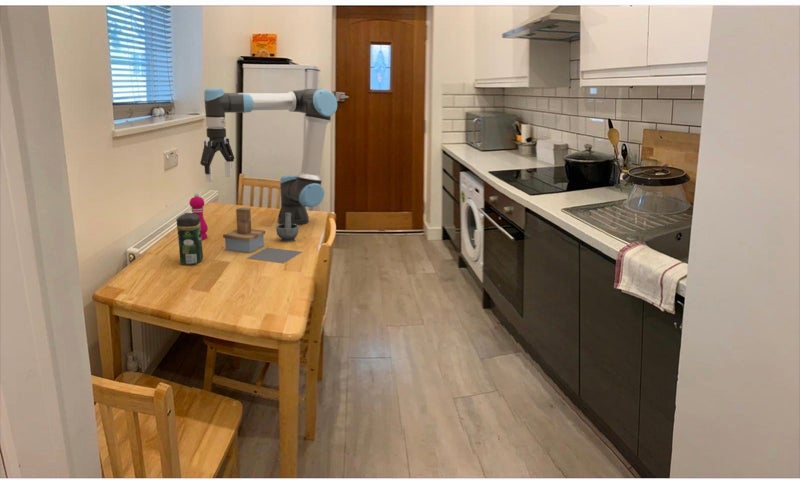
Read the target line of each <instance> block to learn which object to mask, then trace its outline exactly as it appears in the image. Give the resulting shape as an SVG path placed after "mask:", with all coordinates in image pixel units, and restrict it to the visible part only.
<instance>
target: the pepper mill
mask: <svg viewBox="0 0 800 480" xmlns="http://www.w3.org/2000/svg"><path fill="white" fill-rule="evenodd" d="M189 206H190V207H191V208H190V209H191V213H196V214H197V215H199V217H200V227H201V240H202V241H203V240H207V239H208V229H209V228H208V227H209V226H208V225H207V222H206V220H205V218H204V217H205V216H204V211H205V210H204V209H205V208H204V206H205V199H203V197H201V196H200V195H199V193H197V192H196V193H194V195H193V197H191V198H190V200H189Z"/></svg>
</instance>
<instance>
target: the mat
mask: <svg viewBox="0 0 800 480" xmlns="http://www.w3.org/2000/svg"><path fill="white" fill-rule="evenodd" d="M302 253H303V251H299V250H290V249H284V248H283V249H282V248H277V247H266V248H264V249H261V250H260V251H258V252H256V253H254V254H252V255H250V256H248V257H246V260H247V259H248V260H255V261H260V262H261V261H263V262H270V263H276V264H277V263H278V264H285V263H287V262H288V261H290V260H291V259H293V258H295V257H297V256H298V255H300V254H302Z"/></svg>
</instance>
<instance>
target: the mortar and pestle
mask: <svg viewBox="0 0 800 480" xmlns="http://www.w3.org/2000/svg"><path fill="white" fill-rule="evenodd" d="M299 230H300V225H296V224H291V213H285V224H280V223H279V224H278V225H276V229H275V231H276V235H277V236H278V238H280V241H281V242H285V243H286V242H287V243H288V242H289V243H291V242H296V238H298V237H297V236H298V235H299Z"/></svg>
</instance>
